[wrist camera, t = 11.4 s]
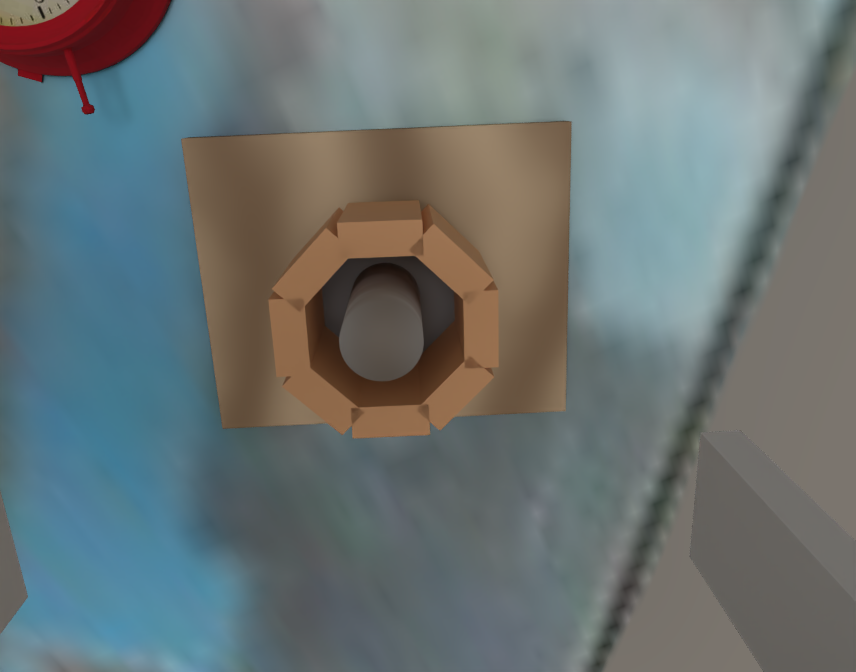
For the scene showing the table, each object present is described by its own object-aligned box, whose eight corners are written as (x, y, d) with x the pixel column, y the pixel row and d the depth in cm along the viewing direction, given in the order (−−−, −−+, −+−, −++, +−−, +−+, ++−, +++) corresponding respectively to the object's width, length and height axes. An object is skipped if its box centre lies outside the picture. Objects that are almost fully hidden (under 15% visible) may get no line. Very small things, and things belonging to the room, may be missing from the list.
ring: (302, 389, 30) (283, 441, 26) (284, 205, 28) (260, 225, 23) (483, 380, 31) (499, 431, 26) (482, 197, 28) (498, 216, 23)
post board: (228, 417, 34) (168, 525, 25) (189, 137, 30) (102, 150, 21) (560, 400, 34) (613, 501, 26) (565, 121, 30) (630, 127, 22)
